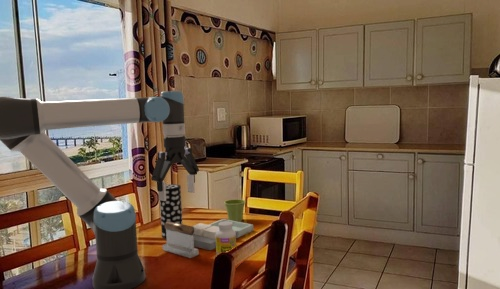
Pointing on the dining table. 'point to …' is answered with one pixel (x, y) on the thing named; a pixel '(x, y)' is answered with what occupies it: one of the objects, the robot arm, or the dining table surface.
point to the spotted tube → (171, 207)
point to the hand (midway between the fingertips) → (177, 196)
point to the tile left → (200, 228)
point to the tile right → (210, 232)
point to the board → (206, 242)
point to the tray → (237, 226)
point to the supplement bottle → (225, 237)
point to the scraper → (180, 239)
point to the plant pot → (235, 209)
